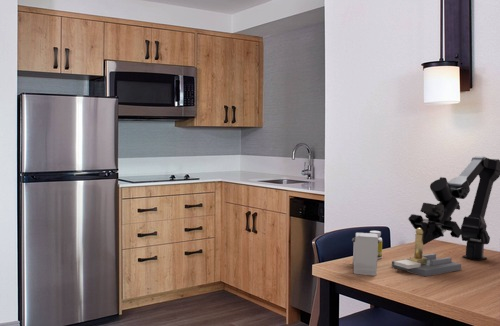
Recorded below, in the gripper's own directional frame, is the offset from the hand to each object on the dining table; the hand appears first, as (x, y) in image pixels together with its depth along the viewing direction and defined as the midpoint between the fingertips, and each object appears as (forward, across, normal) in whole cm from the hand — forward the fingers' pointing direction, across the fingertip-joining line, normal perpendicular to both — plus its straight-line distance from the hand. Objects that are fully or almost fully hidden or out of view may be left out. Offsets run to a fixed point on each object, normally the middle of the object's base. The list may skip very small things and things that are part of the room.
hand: (422, 243), depth 186 cm
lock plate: (+4, 0, +8) cm, 9 cm away
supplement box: (+21, -6, -8) cm, 23 cm away
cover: (+10, 0, 0) cm, 10 cm away
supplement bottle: (+8, -20, +5) cm, 22 cm away
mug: (+15, -14, -2) cm, 21 cm away
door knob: (+6, 0, +4) cm, 7 cm away
